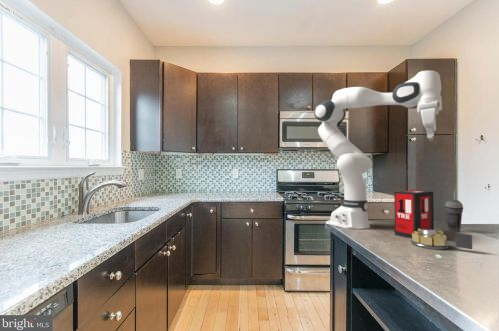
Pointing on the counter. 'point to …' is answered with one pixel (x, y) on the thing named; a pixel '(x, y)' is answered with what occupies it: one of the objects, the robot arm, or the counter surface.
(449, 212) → the beverage cup
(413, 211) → the cleaning product box
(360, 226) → the robot arm
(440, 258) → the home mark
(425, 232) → the flange
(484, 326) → the counter surface
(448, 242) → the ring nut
